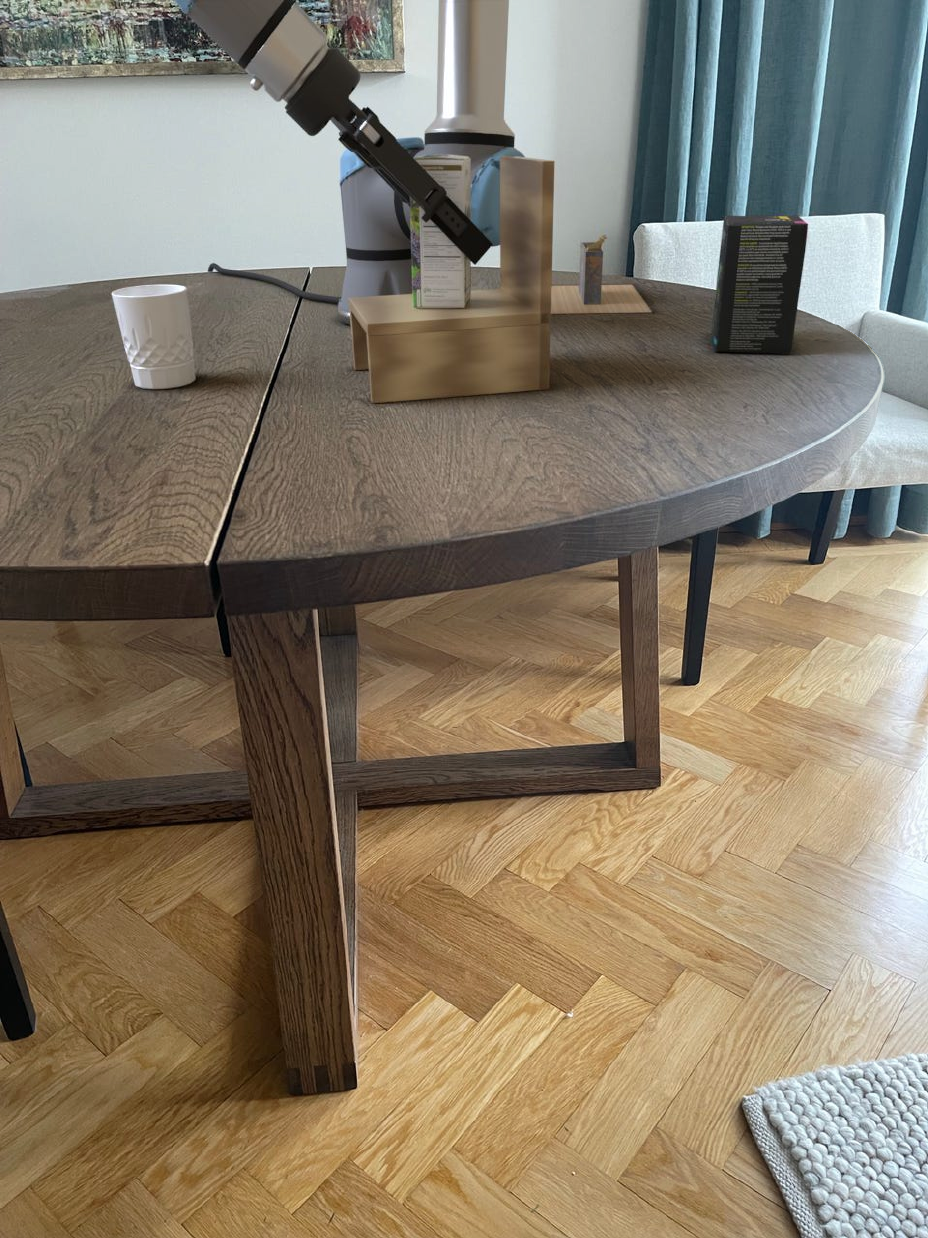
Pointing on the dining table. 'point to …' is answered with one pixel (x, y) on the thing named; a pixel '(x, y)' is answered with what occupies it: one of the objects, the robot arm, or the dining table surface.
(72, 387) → the dining table surface
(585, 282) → the ruin model on sheet
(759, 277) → the tampon box
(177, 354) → the white cup
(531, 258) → the shelf
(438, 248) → the syrup box
